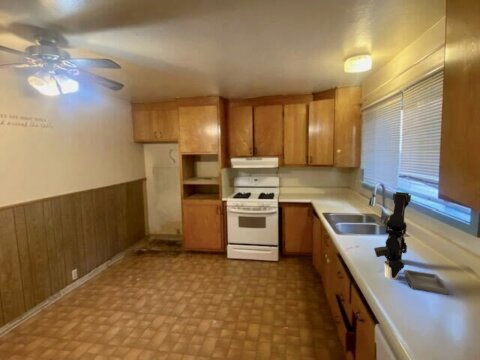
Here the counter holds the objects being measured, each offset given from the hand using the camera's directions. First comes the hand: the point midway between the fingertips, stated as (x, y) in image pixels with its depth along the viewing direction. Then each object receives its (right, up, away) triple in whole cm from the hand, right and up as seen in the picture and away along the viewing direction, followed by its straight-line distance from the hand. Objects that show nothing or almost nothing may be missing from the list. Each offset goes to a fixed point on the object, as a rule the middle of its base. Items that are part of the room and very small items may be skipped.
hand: (391, 273), depth 138 cm
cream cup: (0, -2, 0) cm, 2 cm away
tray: (+13, -3, -6) cm, 14 cm away
